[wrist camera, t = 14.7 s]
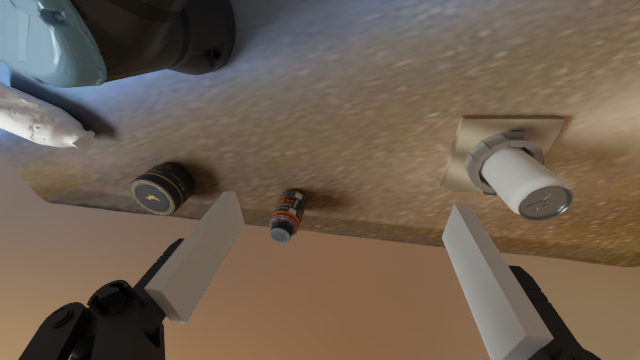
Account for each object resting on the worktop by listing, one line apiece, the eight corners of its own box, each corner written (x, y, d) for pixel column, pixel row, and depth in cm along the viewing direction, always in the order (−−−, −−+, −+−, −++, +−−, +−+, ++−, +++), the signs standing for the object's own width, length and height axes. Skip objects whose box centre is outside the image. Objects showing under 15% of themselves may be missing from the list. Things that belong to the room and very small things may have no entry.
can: (527, 159, 38) (587, 206, 28) (488, 182, 41) (529, 230, 31) (507, 134, 36) (563, 173, 26) (467, 159, 39) (504, 203, 29)
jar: (146, 165, 52) (117, 184, 46) (179, 155, 49) (153, 174, 43) (174, 199, 57) (151, 220, 51) (205, 191, 54) (185, 213, 48)
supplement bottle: (297, 184, 49) (282, 220, 40) (312, 203, 52) (302, 241, 42) (276, 193, 52) (258, 230, 42) (291, 211, 54) (277, 250, 45)
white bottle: (106, 148, 51) (70, 166, 45) (16, 110, 49) (-36, 122, 42) (102, 118, 47) (61, 133, 40) (4, 74, 44) (-57, 82, 38)
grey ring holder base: (461, 116, 37) (472, 125, 33) (559, 116, 35) (583, 126, 31) (440, 186, 45) (447, 200, 41) (519, 189, 43) (534, 205, 39)
